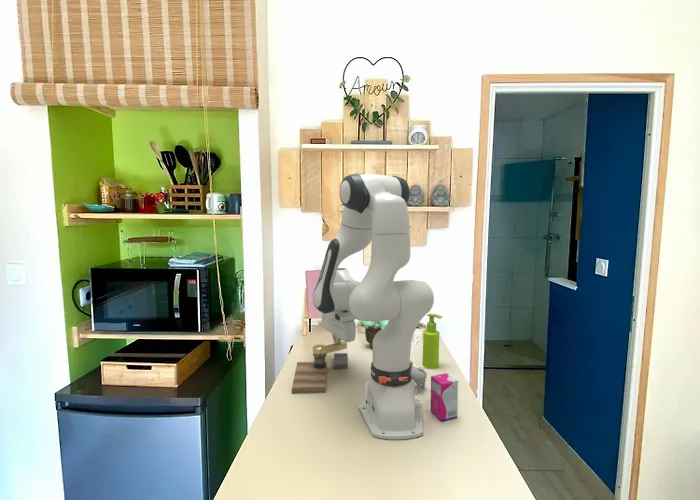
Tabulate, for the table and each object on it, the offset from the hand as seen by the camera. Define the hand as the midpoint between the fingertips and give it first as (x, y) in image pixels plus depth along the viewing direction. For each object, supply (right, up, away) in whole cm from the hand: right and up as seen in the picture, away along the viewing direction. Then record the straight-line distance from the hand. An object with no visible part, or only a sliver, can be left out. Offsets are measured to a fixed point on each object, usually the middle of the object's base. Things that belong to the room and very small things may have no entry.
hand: (337, 345), depth 152 cm
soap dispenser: (+36, -8, -1) cm, 36 cm away
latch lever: (-3, -1, -4) cm, 5 cm away
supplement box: (+32, -12, -35) cm, 49 cm away
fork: (+33, -5, +21) cm, 39 cm away
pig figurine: (+24, -10, -17) cm, 31 cm away
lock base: (-5, -9, -10) cm, 14 cm away
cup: (+15, -5, +18) cm, 24 cm away
